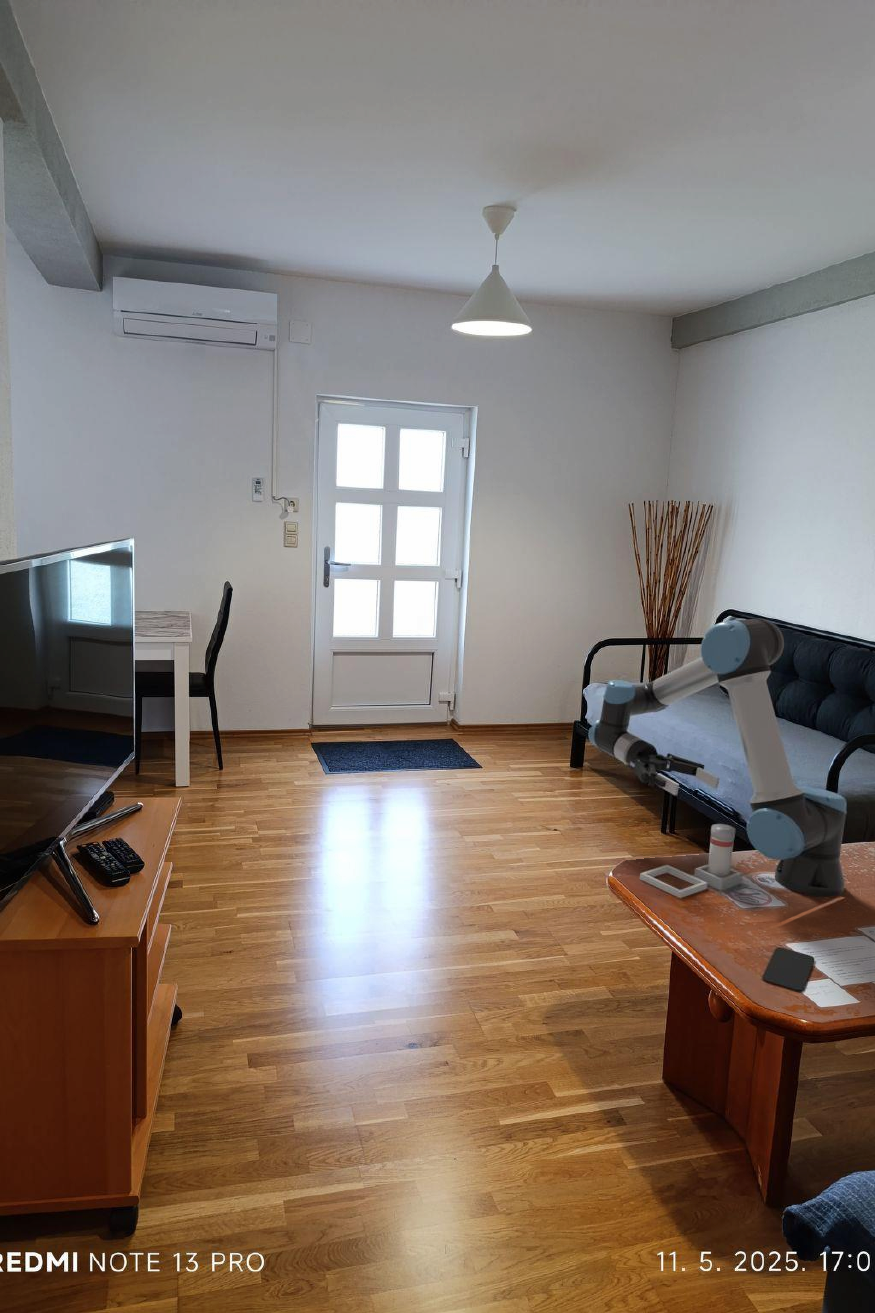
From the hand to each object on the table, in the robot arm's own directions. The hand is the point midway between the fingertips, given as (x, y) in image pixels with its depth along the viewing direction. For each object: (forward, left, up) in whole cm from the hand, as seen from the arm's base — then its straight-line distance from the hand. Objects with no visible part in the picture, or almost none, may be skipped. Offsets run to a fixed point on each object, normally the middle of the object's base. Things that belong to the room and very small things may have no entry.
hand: (697, 786), depth 214 cm
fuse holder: (-8, 0, -21) cm, 23 cm away
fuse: (-8, 0, -20) cm, 22 cm away
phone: (-40, +22, -22) cm, 51 cm away
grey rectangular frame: (-4, +11, -21) cm, 24 cm away
